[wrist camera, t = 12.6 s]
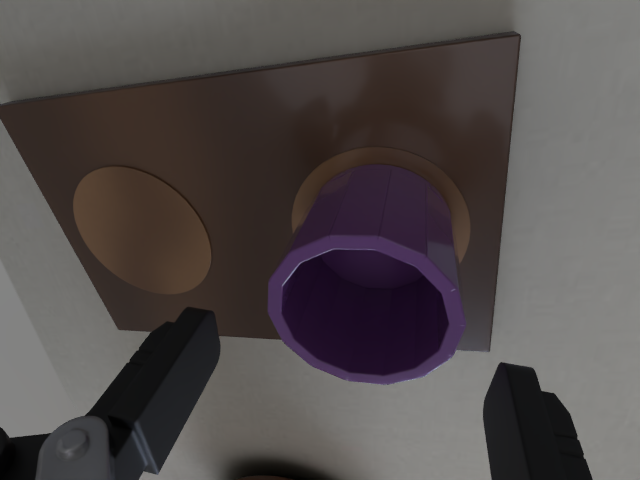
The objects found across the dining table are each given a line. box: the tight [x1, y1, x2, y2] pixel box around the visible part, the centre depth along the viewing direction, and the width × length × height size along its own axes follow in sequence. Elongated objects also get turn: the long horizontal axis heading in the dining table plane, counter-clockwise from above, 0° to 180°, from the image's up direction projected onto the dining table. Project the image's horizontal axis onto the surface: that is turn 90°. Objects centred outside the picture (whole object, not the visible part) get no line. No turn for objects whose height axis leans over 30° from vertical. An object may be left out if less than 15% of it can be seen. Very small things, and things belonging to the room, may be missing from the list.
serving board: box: [0, 31, 521, 352], centre depth 19 cm, size 22×14×1 cm, turn 99°
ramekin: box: [267, 164, 467, 385], centre depth 15 cm, size 6×6×5 cm
